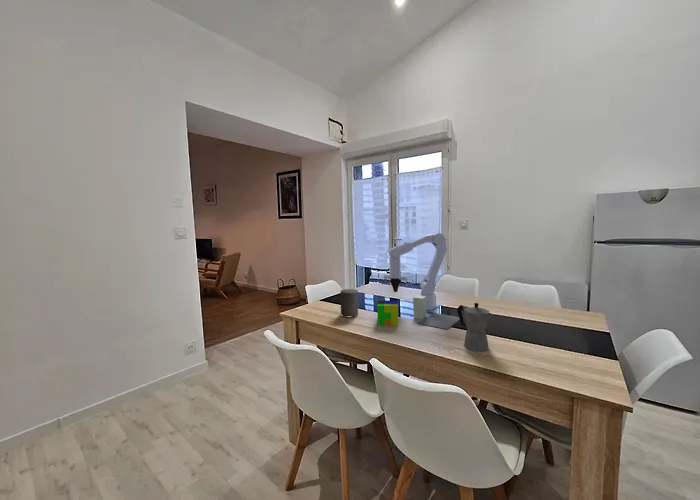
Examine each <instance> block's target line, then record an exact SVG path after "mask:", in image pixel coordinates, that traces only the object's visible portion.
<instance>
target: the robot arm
mask: <svg viewBox="0 0 700 500" xmlns="http://www.w3.org/2000/svg"><path fill="white" fill-rule="evenodd" d="M446 241H447V239H446V237H445V235H444V234H443V233H440V232H431V233H428V234H426V235H424V236H422V237H420V238H417V239H415V240H414V241H412V242H410V241H406V240H405V241H403V243H401V244H396V245H395V246H394V247H391V248H390V249H389V252H388V254H389V257H390V258H389V259H390V260H389V264H390V265H389V266H390V267H389V269H390V270H389V271H390V272H389V273H390V274H384V275H383V279H388V280H389V283H390V284H391V287H392V290H393V292H394V293H398V291H399V286H400V284H401V282H402V281H405V282H407V281H408V280H409V277H408V276H405V275H401V256H403V255H405V254H407V253H410V252H412V251H413V250H414V248H416V247H419V246H421V245H424V244H425V243H428V244H429V243H430V244H432V245H433V246H434V248H435V250H436V251H435V253H434V255H433V259H432V261H431V264H430V265H429V269H428V271H427V274H426V275H425V276H424V278H423V280H421V282H420V283H419V288H420V289H421V291H420V296H426V311H433V310H434V309H436V308H438V305H437V295H436V293H435V290H436V283H437V282H436V278H437V276H438V273H439V271H440V268H441V266H442V263H443V260H444V258H445V256H446V253H447V250H448V249H447V242H446Z"/></svg>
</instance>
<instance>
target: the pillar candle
mask: <svg viewBox="0 0 700 500" xmlns="http://www.w3.org/2000/svg"><path fill="white" fill-rule="evenodd" d="M358 296H359V290H357V289H356V288H355V289H354V288H344V289H341V290H340V315H341V314H342V315H343V316H356V315H358V316H359V297H358ZM356 317H357V316H356Z"/></svg>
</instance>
